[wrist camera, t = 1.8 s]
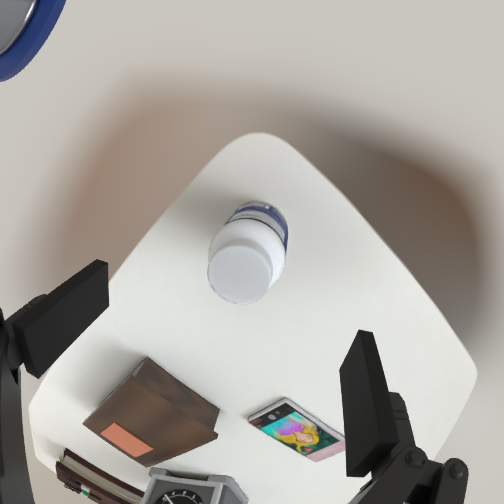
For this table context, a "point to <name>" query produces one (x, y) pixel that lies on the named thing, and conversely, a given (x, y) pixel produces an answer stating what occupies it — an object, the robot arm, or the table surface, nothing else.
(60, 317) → the robot arm
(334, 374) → the table surface
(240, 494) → the alarm clock
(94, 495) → the decorative book
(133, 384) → the wooden box
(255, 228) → the pill bottle
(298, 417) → the smartphone
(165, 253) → the table surface
